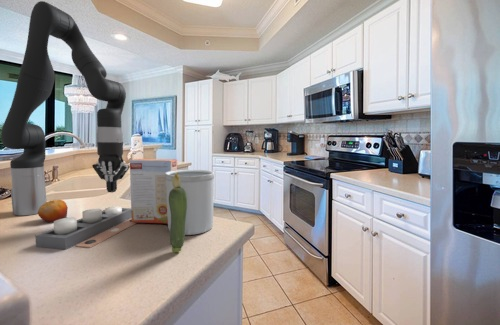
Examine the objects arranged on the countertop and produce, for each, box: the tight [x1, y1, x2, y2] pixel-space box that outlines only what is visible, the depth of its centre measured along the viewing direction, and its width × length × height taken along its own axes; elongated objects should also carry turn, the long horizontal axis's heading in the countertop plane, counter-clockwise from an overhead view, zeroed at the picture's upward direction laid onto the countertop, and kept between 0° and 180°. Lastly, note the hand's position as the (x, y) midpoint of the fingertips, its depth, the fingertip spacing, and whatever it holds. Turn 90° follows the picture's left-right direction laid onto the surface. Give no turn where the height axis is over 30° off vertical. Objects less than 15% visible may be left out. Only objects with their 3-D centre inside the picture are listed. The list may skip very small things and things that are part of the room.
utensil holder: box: [165, 169, 216, 236], centre depth 77 cm, size 15×15×18 cm
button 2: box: [104, 205, 123, 215], centre depth 85 cm, size 5×5×3 cm
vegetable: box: [169, 172, 187, 254], centre depth 61 cm, size 4×4×20 cm
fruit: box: [37, 199, 68, 223], centre depth 85 cm, size 8×8×8 cm
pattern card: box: [74, 218, 139, 249], centre depth 75 cm, size 4×23×1 cm, turn 170°
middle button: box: [81, 208, 103, 224], centre depth 76 cm, size 5×5×3 cm
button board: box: [34, 207, 132, 250], centre depth 76 cm, size 9×27×3 cm, turn 170°
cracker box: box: [129, 158, 178, 225], centre depth 82 cm, size 14×6×21 cm, turn 84°
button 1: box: [53, 217, 78, 235], centre depth 67 cm, size 5×5×3 cm
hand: (111, 191), depth 84 cm, fingers closed
